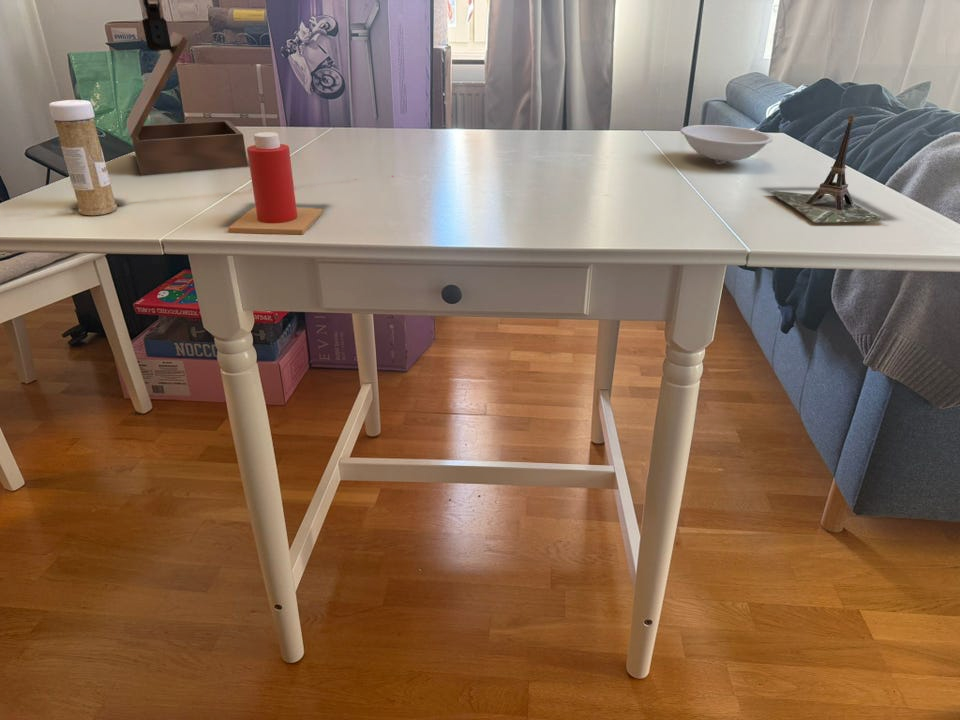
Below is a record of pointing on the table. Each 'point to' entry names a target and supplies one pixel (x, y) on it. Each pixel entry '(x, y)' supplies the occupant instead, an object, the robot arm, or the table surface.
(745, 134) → the dish
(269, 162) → the ketchup
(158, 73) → the lid
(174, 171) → the wooden storage tray
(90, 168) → the sprinkles bottle
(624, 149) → the table surface
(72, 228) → the table surface
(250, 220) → the trivet
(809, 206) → the eiffel tower figurine
